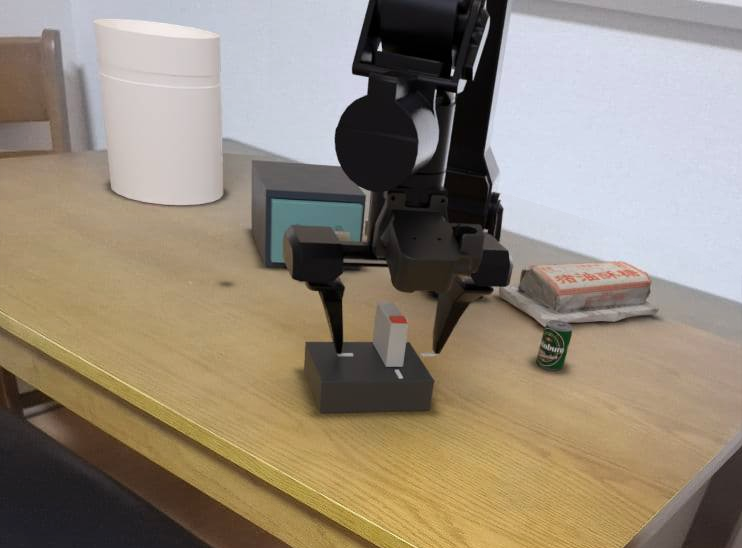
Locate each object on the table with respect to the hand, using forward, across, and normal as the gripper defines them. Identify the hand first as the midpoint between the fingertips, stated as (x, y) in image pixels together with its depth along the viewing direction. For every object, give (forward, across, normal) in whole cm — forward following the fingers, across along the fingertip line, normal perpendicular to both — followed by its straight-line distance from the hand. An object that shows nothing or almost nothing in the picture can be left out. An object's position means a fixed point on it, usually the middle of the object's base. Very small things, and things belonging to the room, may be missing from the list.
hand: (387, 352), depth 69 cm
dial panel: (+3, -1, 0) cm, 4 cm away
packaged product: (+4, +30, +20) cm, 36 cm away
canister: (+4, -17, +63) cm, 65 cm away
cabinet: (+3, -1, +38) cm, 38 cm away
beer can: (+4, +19, +4) cm, 20 cm away
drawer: (+2, -1, +34) cm, 34 cm away
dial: (0, 0, 0) cm, 0 cm away
